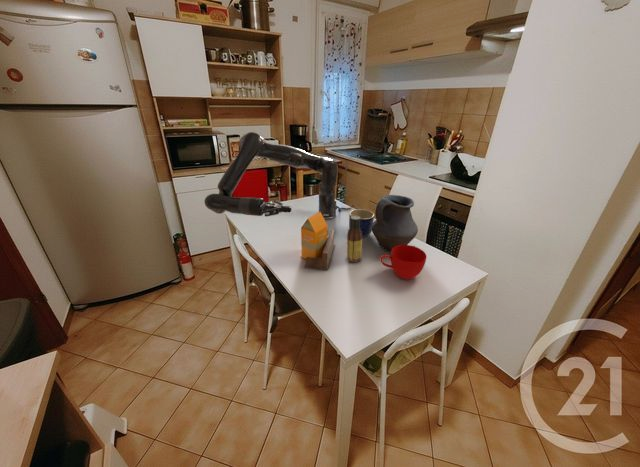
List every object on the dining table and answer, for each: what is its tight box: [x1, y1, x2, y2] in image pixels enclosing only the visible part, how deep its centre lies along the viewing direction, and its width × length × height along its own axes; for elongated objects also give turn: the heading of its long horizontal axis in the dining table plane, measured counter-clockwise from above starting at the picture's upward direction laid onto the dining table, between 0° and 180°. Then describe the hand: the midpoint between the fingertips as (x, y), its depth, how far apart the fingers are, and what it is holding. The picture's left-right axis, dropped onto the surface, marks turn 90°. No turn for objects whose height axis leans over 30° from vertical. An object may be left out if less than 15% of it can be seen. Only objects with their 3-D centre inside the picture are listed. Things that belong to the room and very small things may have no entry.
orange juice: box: [300, 211, 329, 260], centre depth 112 cm, size 8×9×20 cm
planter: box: [348, 208, 375, 238], centre depth 133 cm, size 12×12×11 cm
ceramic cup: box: [379, 244, 428, 280], centre depth 103 cm, size 13×17×10 cm
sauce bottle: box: [346, 216, 363, 263], centre depth 110 cm, size 7×6×20 cm
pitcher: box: [371, 194, 419, 252], centre depth 118 cm, size 21×22×25 cm
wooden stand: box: [305, 230, 336, 271], centre depth 115 cm, size 9×20×8 cm, turn 169°
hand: (290, 209), depth 109 cm, fingers closed
